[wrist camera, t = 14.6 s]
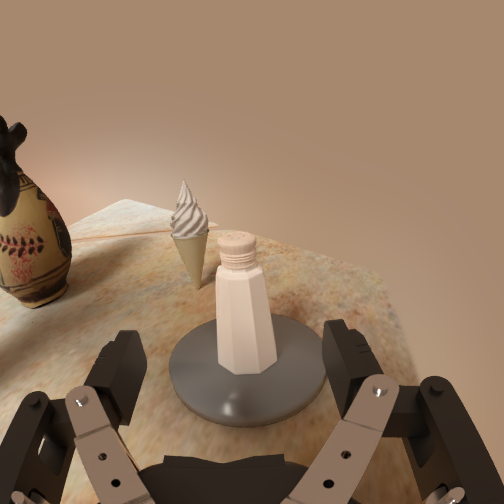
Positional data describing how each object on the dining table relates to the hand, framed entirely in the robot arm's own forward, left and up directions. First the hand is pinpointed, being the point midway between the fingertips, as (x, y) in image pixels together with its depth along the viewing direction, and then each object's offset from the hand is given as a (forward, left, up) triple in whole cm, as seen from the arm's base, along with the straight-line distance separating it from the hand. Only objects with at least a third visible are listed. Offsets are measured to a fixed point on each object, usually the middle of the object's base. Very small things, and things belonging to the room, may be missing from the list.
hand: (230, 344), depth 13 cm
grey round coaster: (-8, +7, -11) cm, 16 cm away
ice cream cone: (-25, +12, -12) cm, 30 cm away
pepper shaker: (-8, +7, -10) cm, 15 cm away
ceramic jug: (-41, -10, -12) cm, 44 cm away
